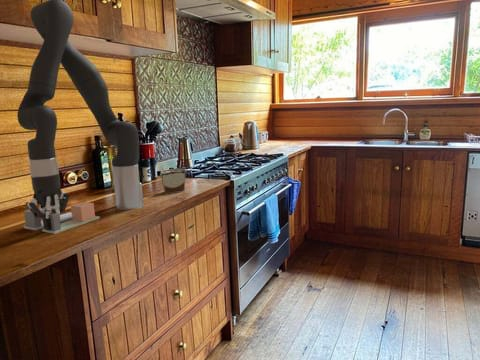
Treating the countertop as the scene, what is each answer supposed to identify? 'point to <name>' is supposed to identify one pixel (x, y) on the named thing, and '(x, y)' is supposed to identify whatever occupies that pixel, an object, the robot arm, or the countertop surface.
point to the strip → (62, 218)
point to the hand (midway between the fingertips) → (52, 228)
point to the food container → (173, 180)
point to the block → (83, 211)
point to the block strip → (66, 225)
